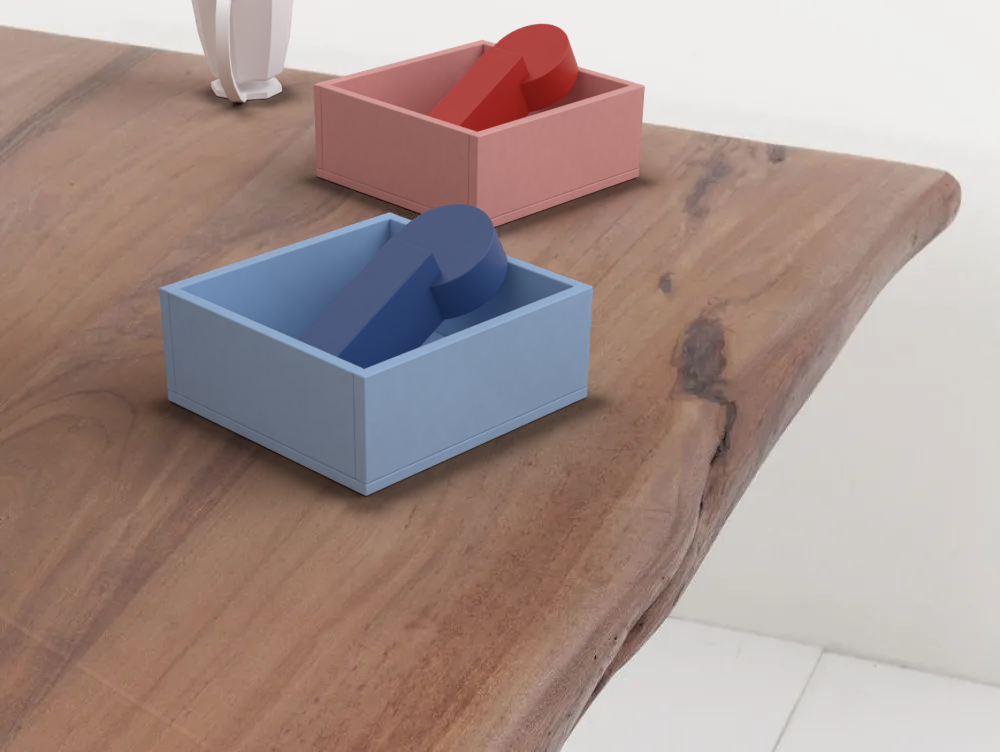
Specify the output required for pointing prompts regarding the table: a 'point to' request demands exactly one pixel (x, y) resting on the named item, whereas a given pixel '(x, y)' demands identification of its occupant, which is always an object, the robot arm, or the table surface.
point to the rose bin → (473, 139)
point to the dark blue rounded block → (413, 287)
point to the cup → (244, 45)
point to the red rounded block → (512, 79)
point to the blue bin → (382, 387)
